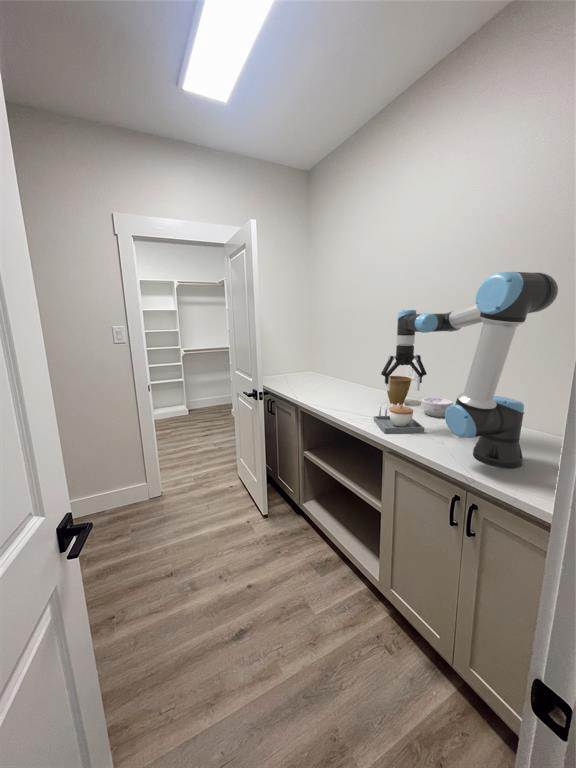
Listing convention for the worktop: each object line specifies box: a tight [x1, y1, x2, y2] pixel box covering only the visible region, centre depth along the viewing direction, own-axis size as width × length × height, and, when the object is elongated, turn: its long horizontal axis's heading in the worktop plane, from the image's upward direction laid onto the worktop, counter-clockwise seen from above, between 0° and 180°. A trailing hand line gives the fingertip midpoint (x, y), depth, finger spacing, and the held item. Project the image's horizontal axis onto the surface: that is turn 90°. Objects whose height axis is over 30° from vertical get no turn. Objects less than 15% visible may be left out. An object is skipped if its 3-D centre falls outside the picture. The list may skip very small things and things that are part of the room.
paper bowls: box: [420, 397, 454, 418], centre depth 166 cm, size 15×15×8 cm
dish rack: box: [373, 402, 425, 435], centre depth 148 cm, size 18×18×9 cm
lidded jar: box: [388, 404, 414, 427], centre depth 147 cm, size 11×11×9 cm
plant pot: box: [385, 375, 412, 406], centre depth 187 cm, size 15×15×16 cm
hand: (402, 390), depth 144 cm, fingers open, 13 cm apart
